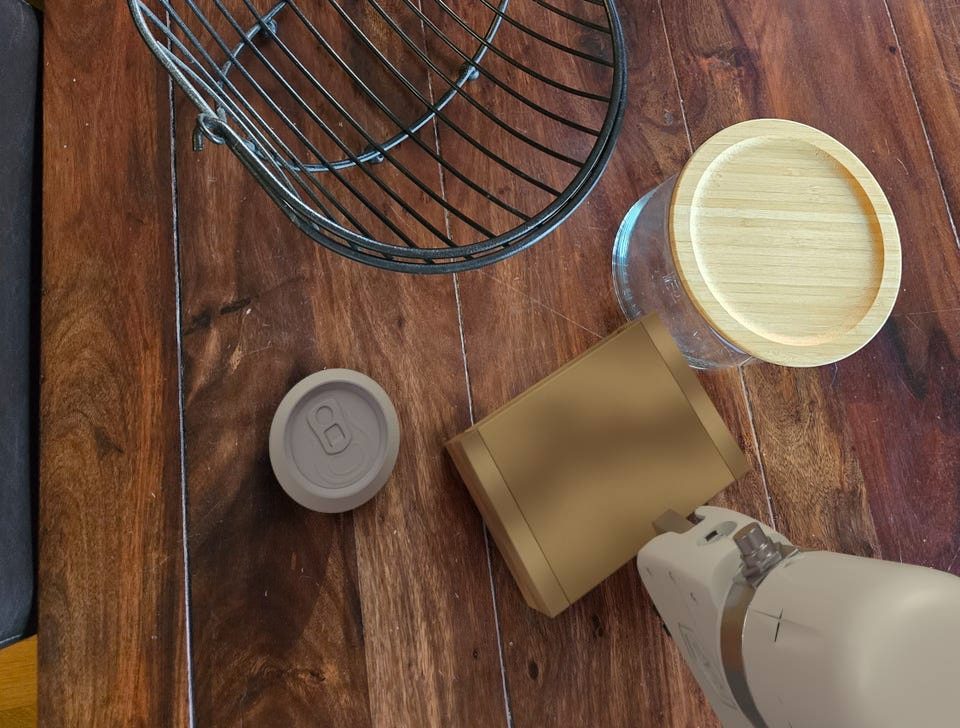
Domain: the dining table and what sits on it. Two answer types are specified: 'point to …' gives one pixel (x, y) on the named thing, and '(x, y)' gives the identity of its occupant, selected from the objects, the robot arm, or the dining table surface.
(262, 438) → the dining table surface
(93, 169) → the dining table surface
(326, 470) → the beverage can
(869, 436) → the dining table surface
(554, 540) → the gold flanged block
